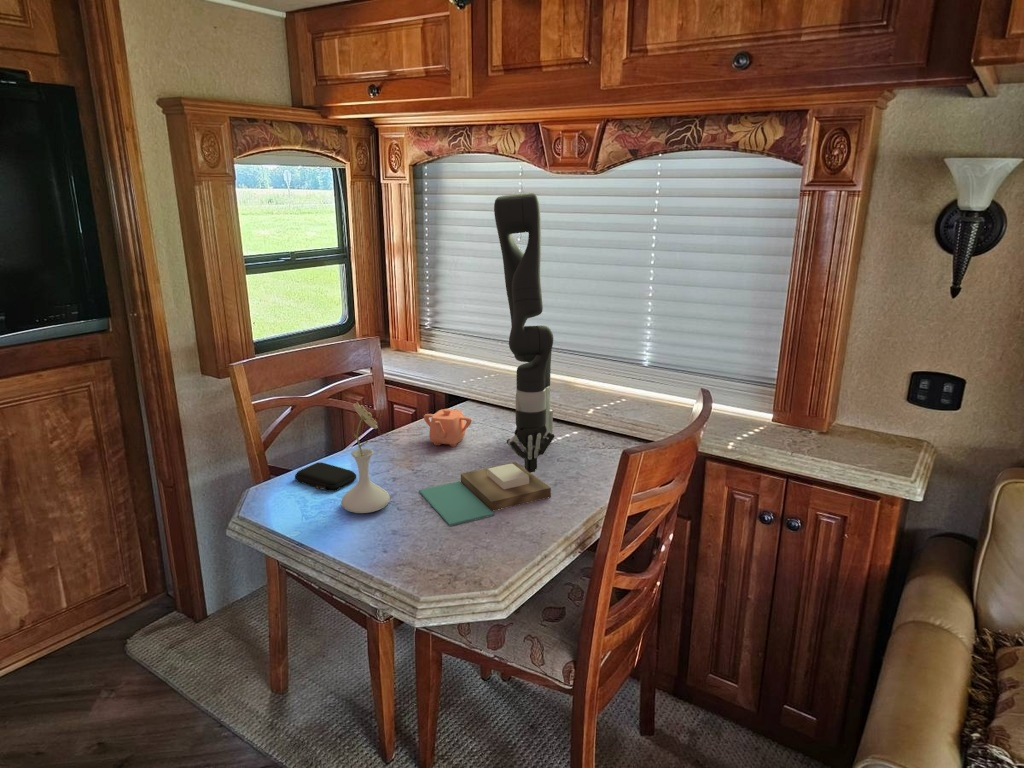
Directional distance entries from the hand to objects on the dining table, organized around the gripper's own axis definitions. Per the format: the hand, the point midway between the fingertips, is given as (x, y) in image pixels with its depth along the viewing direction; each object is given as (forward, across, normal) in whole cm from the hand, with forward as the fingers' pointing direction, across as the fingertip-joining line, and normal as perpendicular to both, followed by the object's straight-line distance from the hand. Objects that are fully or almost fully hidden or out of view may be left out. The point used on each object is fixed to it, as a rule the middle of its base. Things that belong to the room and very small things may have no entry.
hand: (530, 471), depth 172 cm
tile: (+1, +6, 0) cm, 6 cm away
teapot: (+4, +7, -37) cm, 38 cm away
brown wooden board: (+4, +7, 0) cm, 8 cm away
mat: (+4, +21, +1) cm, 21 cm away
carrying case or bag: (+4, +46, -27) cm, 53 cm away
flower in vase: (+4, +40, -8) cm, 41 cm away
